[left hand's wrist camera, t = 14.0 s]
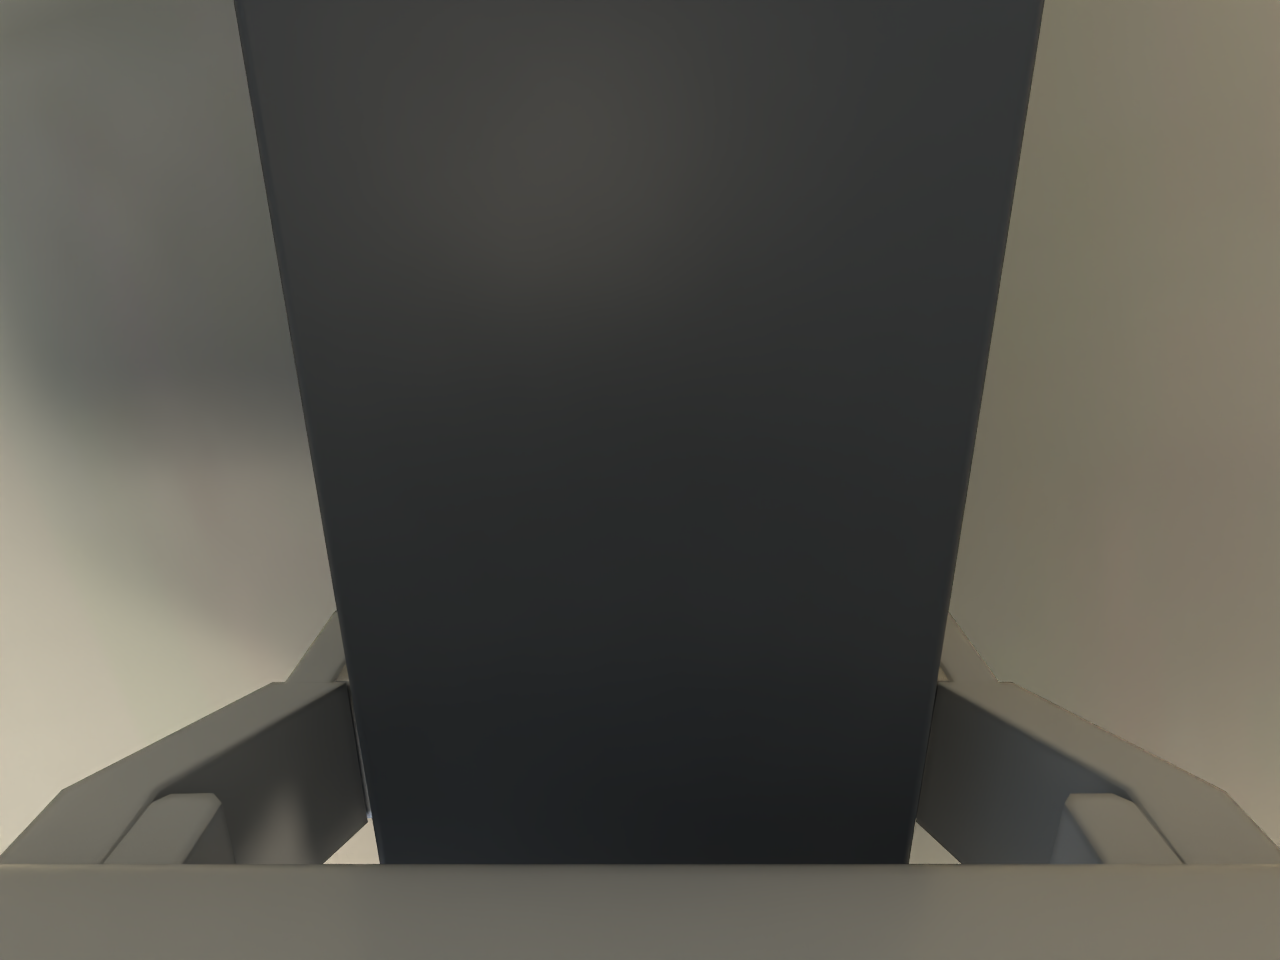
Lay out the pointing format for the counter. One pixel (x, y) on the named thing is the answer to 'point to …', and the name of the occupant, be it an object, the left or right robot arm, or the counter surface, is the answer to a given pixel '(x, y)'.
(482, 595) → the post
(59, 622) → the counter surface
